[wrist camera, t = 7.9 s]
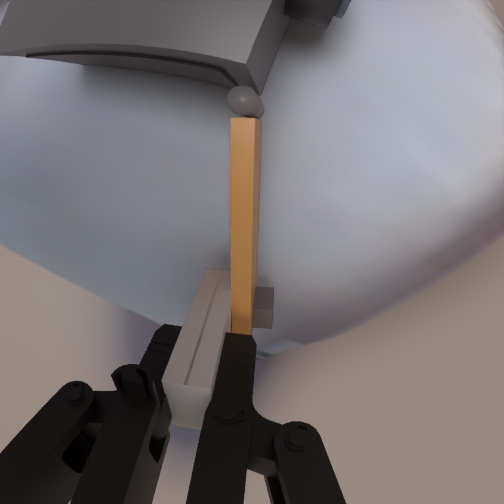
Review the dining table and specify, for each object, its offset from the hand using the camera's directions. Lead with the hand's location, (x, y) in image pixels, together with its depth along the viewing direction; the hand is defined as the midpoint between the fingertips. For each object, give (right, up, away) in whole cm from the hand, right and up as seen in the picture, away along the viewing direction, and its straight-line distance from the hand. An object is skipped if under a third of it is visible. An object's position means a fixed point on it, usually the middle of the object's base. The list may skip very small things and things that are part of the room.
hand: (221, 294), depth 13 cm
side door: (+2, +5, +2) cm, 5 cm away
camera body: (-1, +16, -2) cm, 16 cm away
